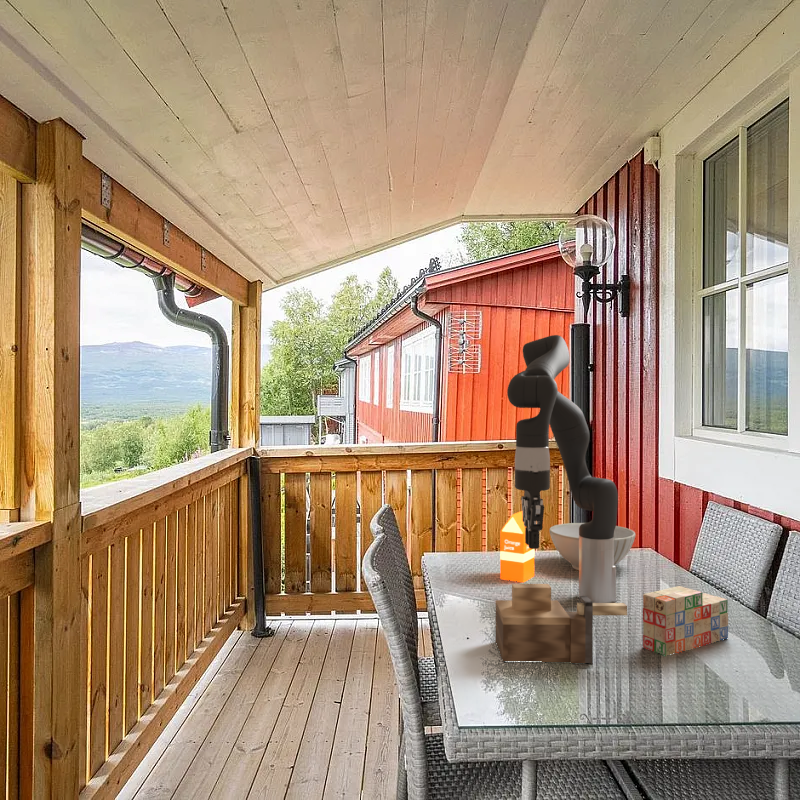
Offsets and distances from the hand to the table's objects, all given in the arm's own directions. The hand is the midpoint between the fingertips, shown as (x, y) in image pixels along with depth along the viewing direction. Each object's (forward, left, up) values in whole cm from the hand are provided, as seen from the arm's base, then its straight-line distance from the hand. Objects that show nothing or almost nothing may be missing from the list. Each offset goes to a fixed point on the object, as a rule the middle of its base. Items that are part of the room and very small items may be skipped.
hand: (532, 546), depth 151 cm
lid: (0, 0, -16) cm, 16 cm away
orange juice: (-7, -61, -23) cm, 66 cm away
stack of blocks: (-36, -5, -24) cm, 43 cm away
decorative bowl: (-33, -73, -23) cm, 84 cm away
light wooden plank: (-14, +4, -13) cm, 20 cm away
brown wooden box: (-2, 0, -23) cm, 23 cm away
